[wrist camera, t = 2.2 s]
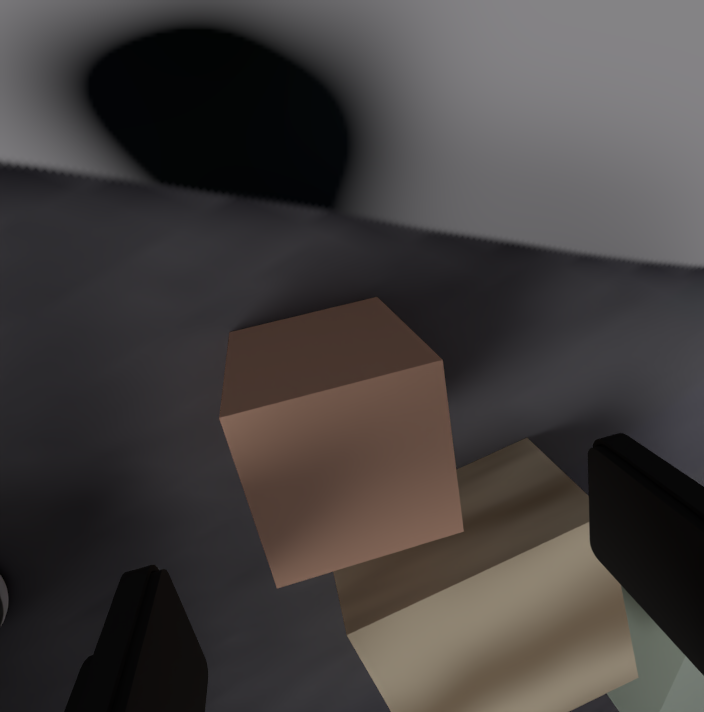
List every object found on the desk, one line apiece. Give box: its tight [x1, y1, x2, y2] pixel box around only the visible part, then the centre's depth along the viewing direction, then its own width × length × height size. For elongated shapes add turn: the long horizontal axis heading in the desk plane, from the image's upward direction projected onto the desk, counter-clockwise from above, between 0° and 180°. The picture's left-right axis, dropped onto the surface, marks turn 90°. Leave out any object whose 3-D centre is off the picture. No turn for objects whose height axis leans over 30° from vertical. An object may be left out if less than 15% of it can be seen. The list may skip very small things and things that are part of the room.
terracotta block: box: [219, 297, 464, 588], centre depth 14 cm, size 5×5×6 cm
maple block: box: [333, 438, 639, 712], centre depth 19 cm, size 9×9×5 cm
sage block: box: [607, 586, 704, 712], centre depth 22 cm, size 7×7×5 cm
